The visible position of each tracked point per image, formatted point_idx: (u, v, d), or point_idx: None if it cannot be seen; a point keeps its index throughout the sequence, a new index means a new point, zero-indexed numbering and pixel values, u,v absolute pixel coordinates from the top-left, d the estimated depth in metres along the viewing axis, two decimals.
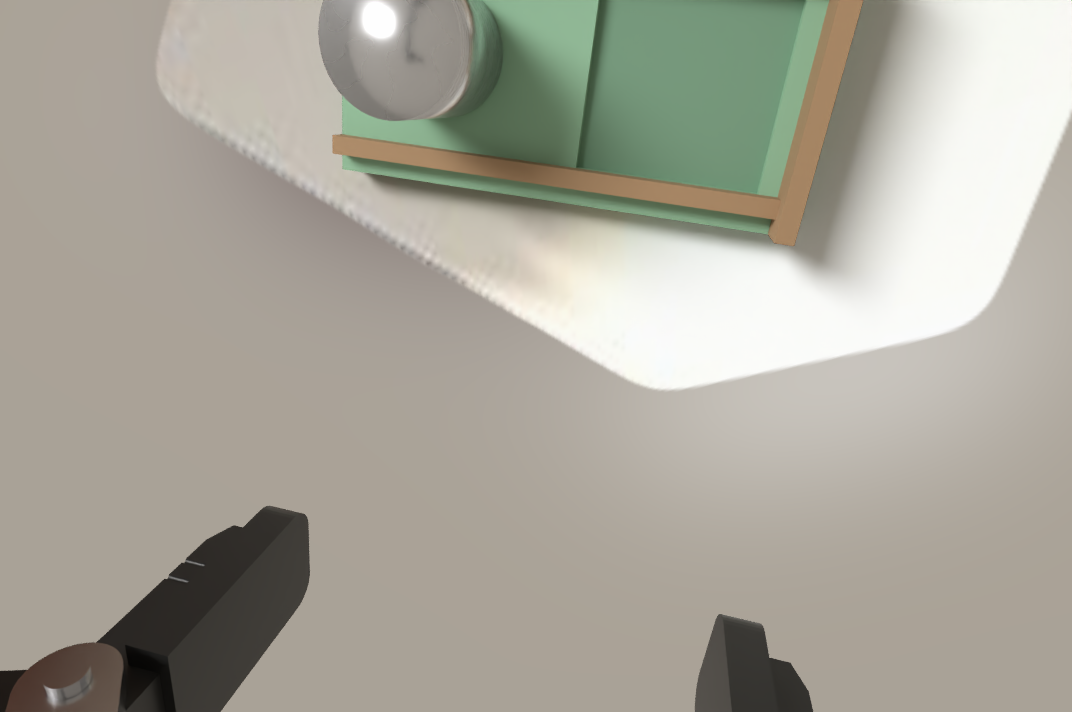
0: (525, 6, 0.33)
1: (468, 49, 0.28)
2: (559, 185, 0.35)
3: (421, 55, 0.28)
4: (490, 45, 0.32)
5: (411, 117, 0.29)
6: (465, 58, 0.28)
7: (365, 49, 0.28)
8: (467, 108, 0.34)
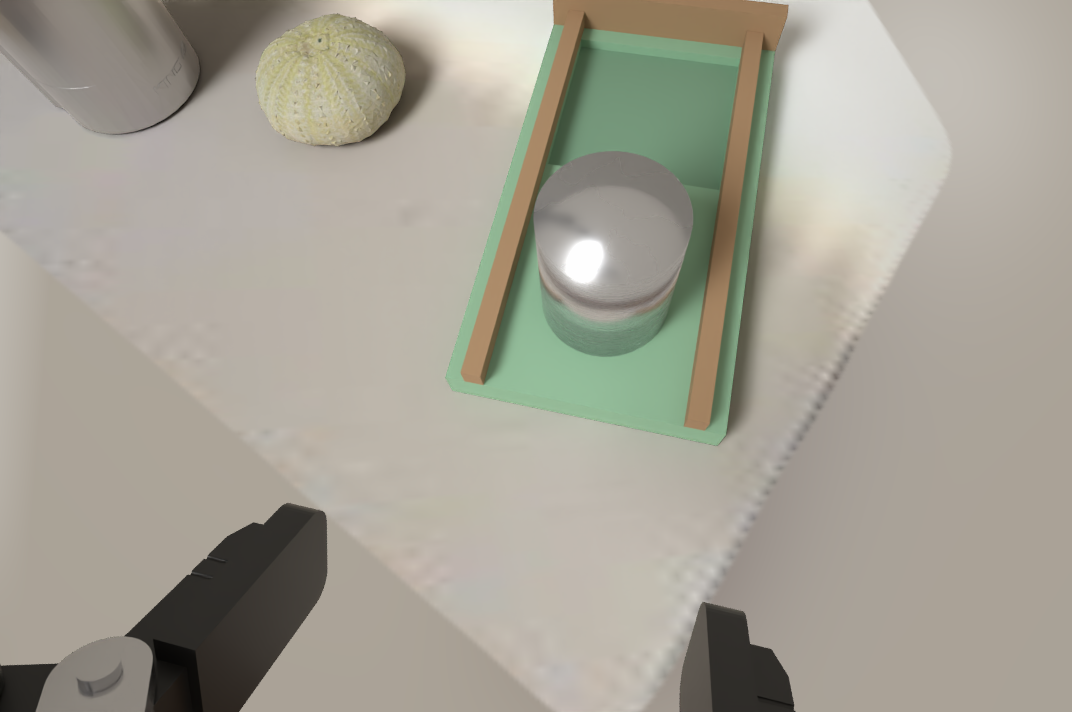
0: None
1: None
2: (740, 188, 0.34)
3: (630, 186, 0.27)
4: None
5: (689, 202, 0.26)
6: None
7: (618, 237, 0.26)
8: None
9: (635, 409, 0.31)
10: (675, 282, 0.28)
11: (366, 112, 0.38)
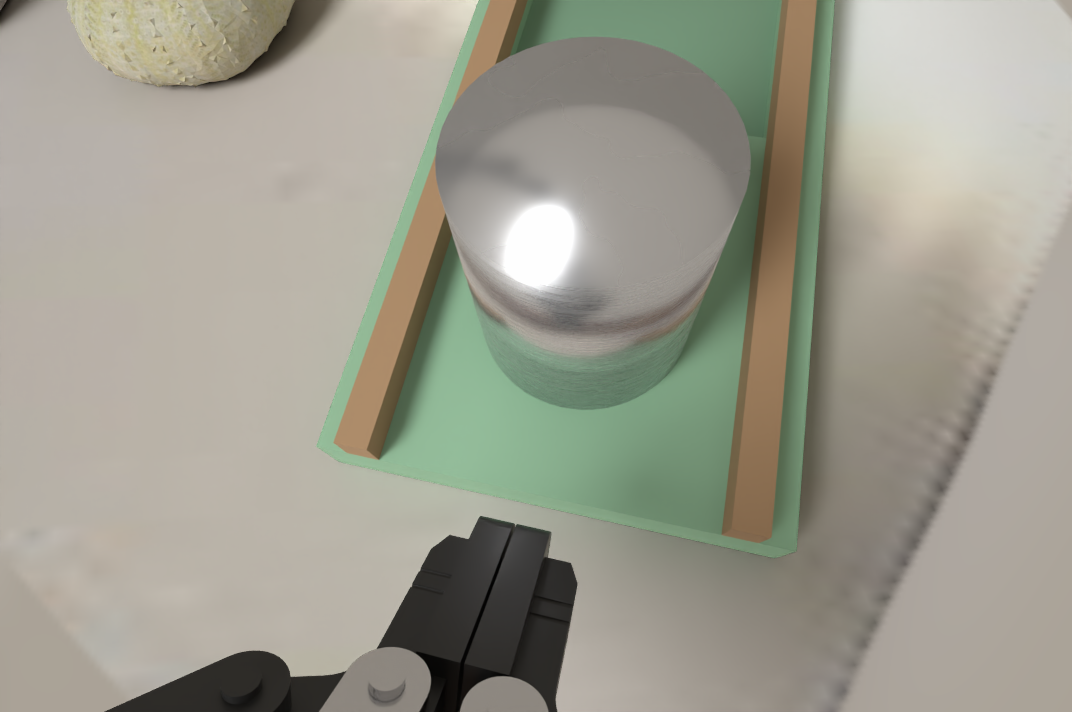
0: None
1: None
2: (802, 130, 0.21)
3: (624, 98, 0.14)
4: None
5: (742, 126, 0.13)
6: None
7: (601, 194, 0.13)
8: None
9: (636, 503, 0.18)
10: None
11: (226, 31, 0.25)
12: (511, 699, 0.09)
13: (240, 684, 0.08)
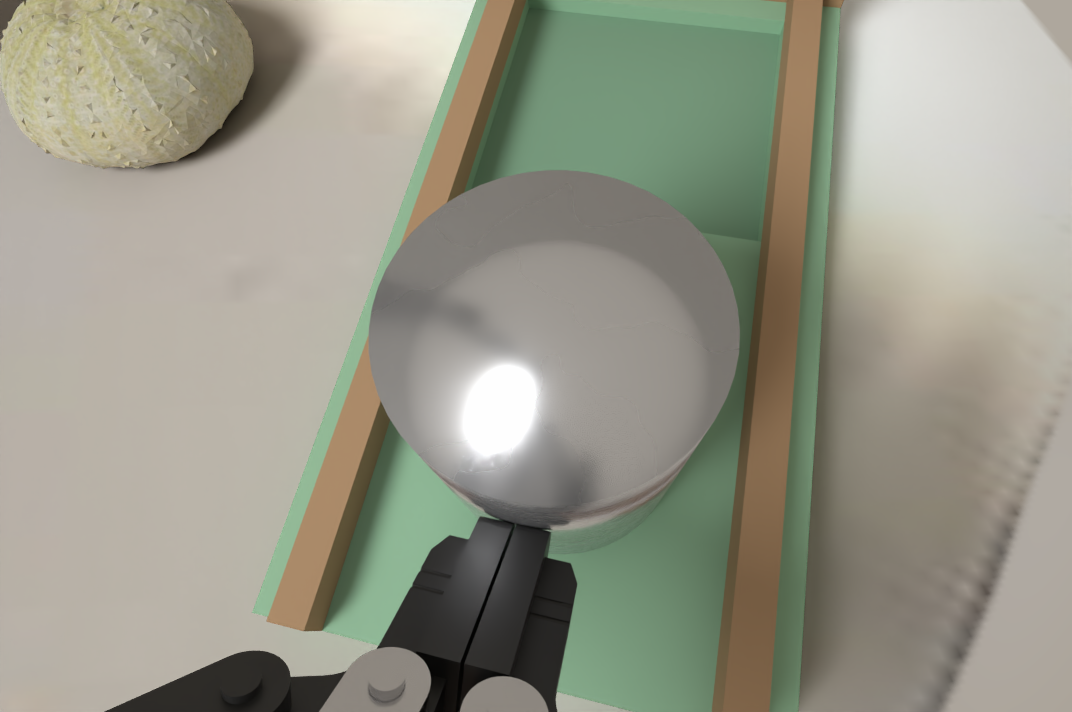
0: None
1: None
2: (801, 240, 0.19)
3: (592, 249, 0.12)
4: None
5: (730, 290, 0.11)
6: None
7: (562, 377, 0.11)
8: None
9: (613, 689, 0.16)
10: None
11: (172, 114, 0.23)
12: (511, 699, 0.09)
13: (240, 683, 0.08)
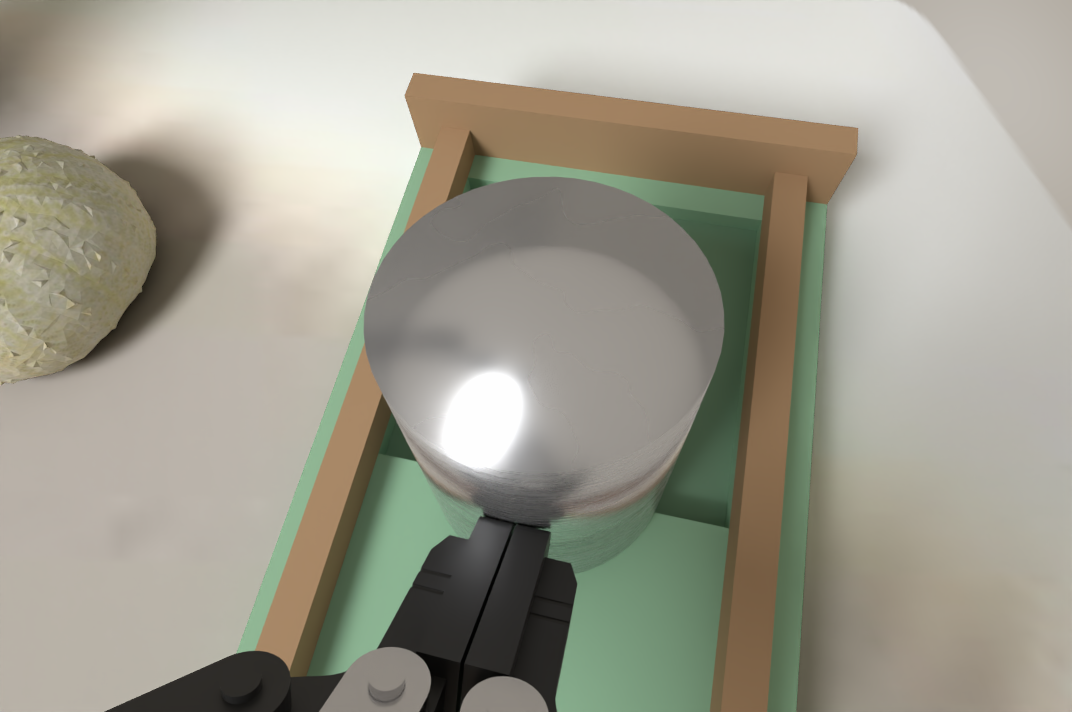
0: None
1: None
2: (774, 554, 0.15)
3: (580, 244, 0.12)
4: None
5: (713, 277, 0.12)
6: None
7: (554, 355, 0.11)
8: None
9: None
10: (683, 444, 0.13)
11: (46, 335, 0.20)
12: (511, 699, 0.09)
13: (239, 683, 0.08)
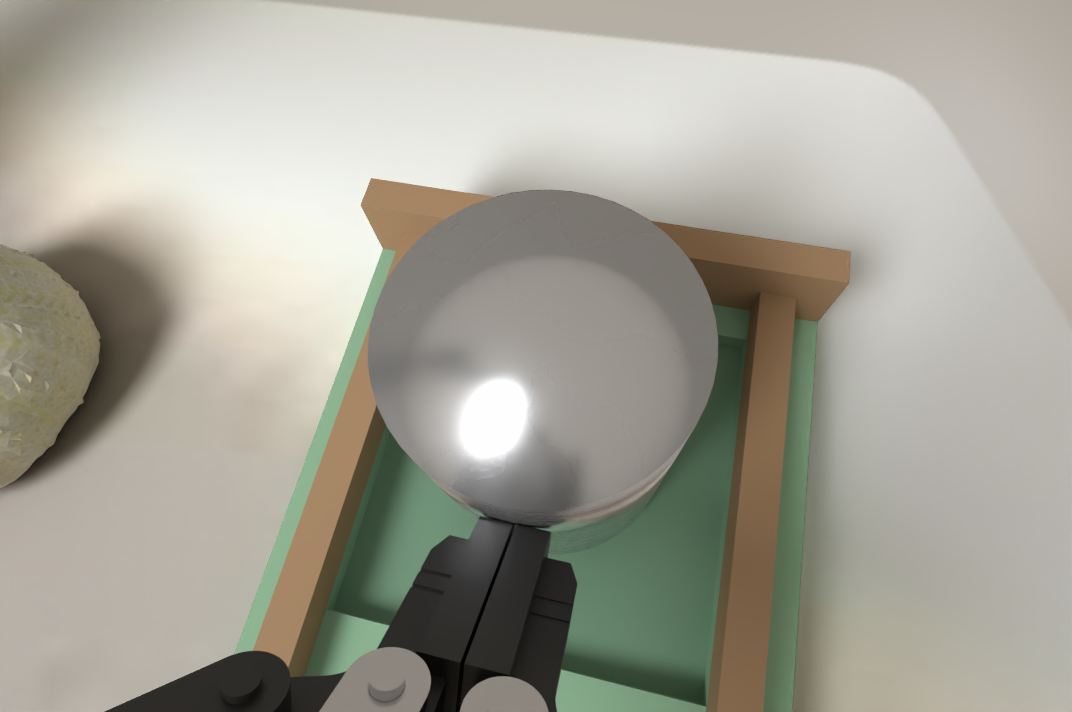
0: None
1: None
2: None
3: (578, 266, 0.12)
4: None
5: (708, 302, 0.12)
6: None
7: (551, 388, 0.12)
8: None
9: None
10: None
11: None
12: (511, 699, 0.09)
13: (239, 685, 0.08)
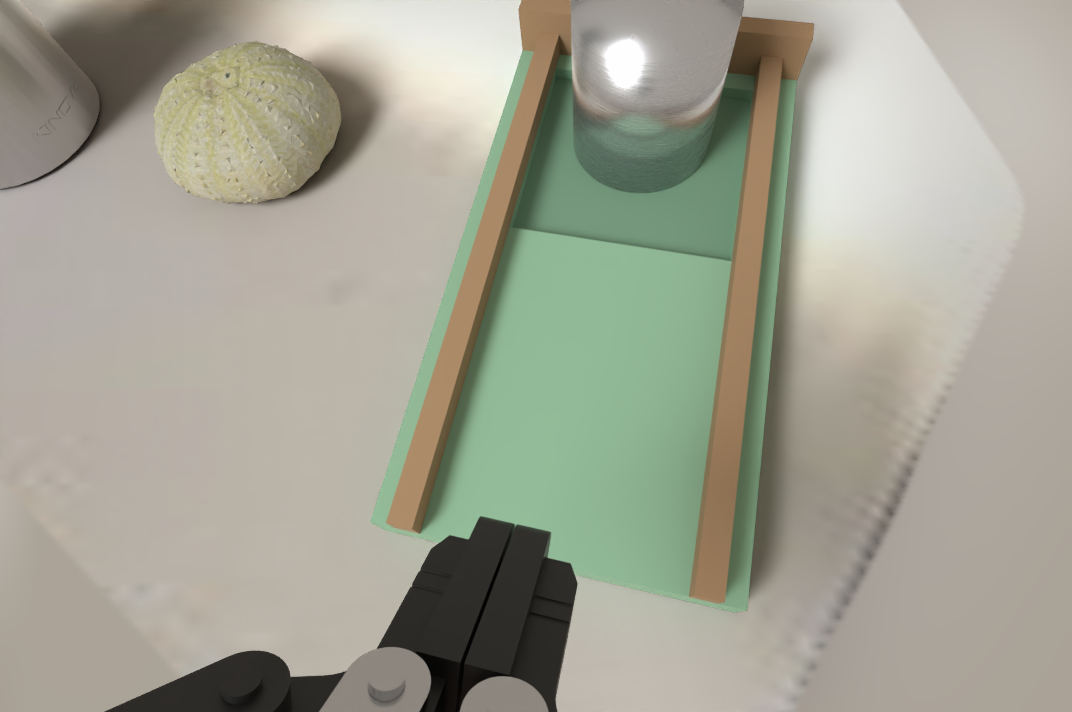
0: (540, 307, 0.27)
1: None
2: (758, 261, 0.26)
3: None
4: None
5: None
6: None
7: (663, 20, 0.24)
8: None
9: (623, 571, 0.23)
10: (722, 87, 0.26)
11: (287, 163, 0.31)
12: (511, 699, 0.09)
13: (240, 684, 0.08)
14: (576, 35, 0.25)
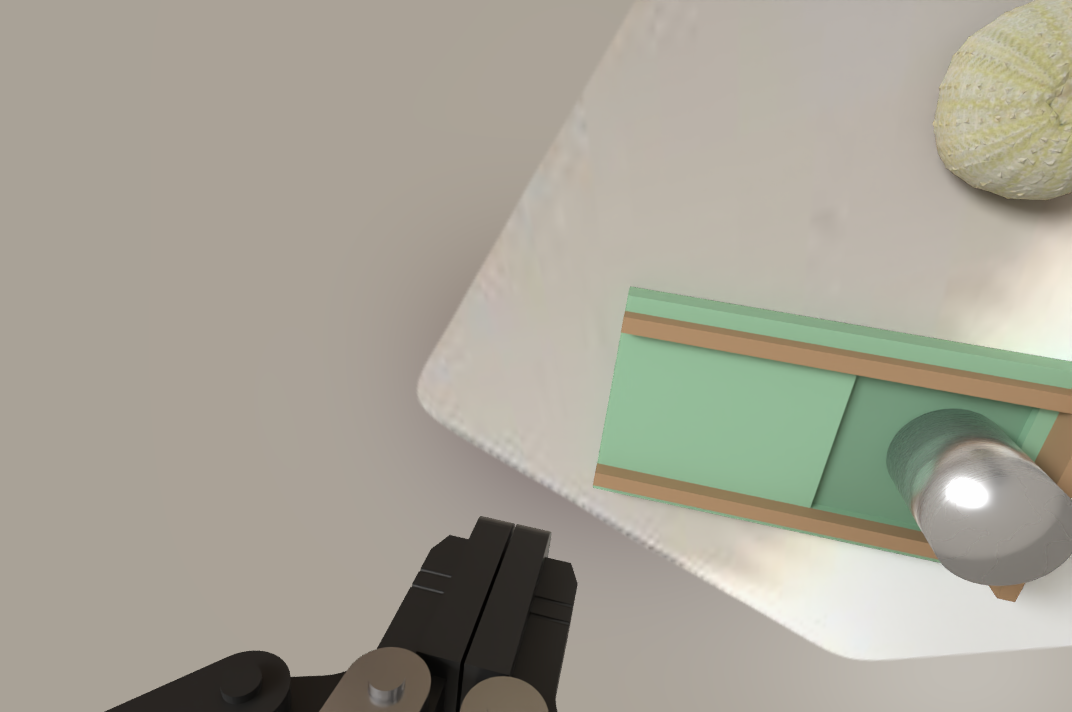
0: (782, 391, 0.39)
1: None
2: (800, 528, 0.40)
3: (1034, 546, 0.32)
4: None
5: (1007, 584, 0.33)
6: None
7: (978, 536, 0.32)
8: None
9: (608, 433, 0.42)
10: None
11: (961, 171, 0.32)
12: (511, 699, 0.09)
13: (240, 684, 0.08)
14: (983, 475, 0.31)
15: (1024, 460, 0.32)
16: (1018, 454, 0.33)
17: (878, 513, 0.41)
